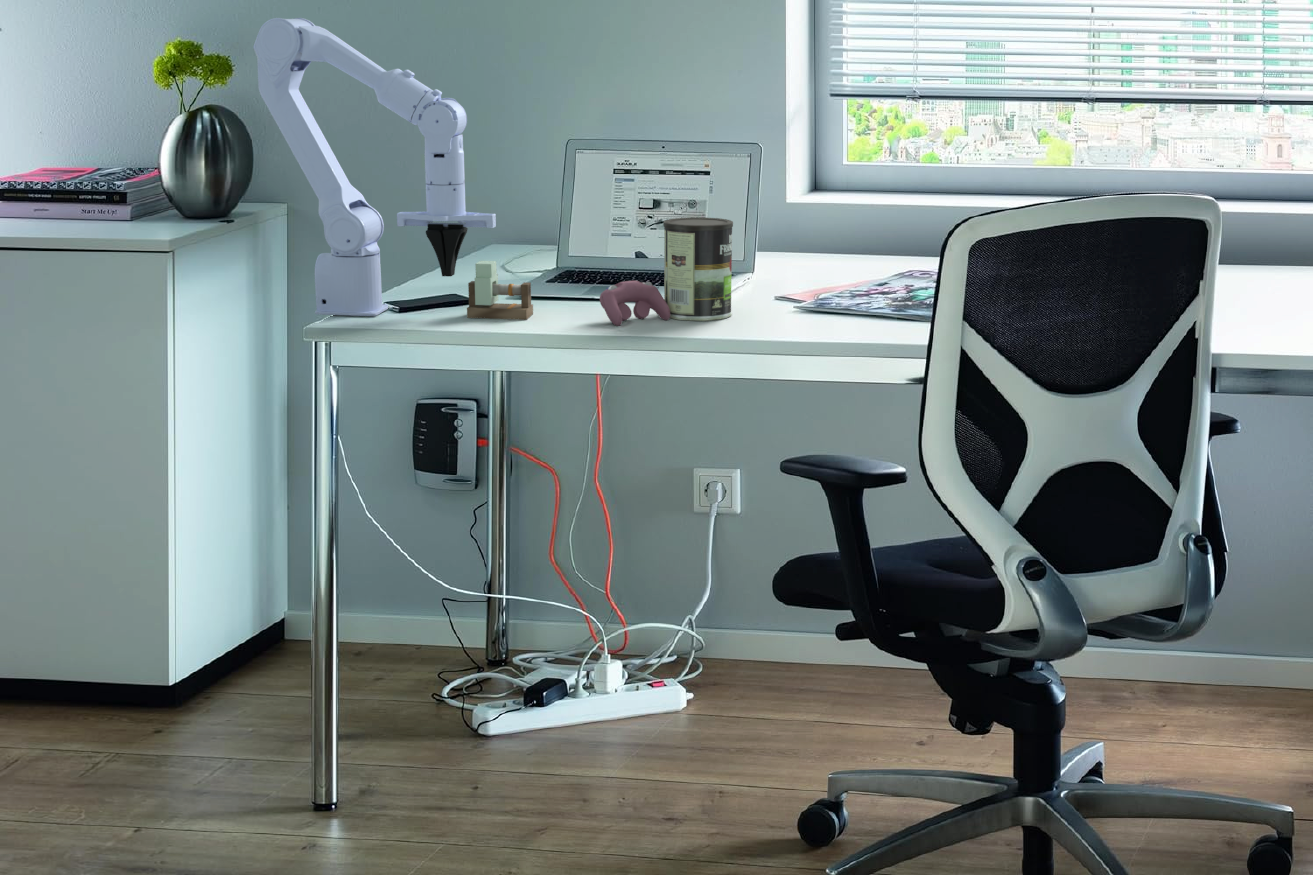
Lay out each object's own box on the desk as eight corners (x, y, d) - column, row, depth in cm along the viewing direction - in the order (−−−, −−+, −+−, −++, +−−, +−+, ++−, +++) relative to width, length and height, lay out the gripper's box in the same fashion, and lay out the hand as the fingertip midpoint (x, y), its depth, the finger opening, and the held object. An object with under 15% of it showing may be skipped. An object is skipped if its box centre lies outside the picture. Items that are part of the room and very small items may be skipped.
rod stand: (467, 317, 230) (466, 284, 229) (474, 312, 234) (473, 279, 233) (526, 319, 229) (525, 286, 228) (533, 314, 233) (532, 281, 232)
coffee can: (736, 310, 237) (737, 217, 233) (725, 322, 227) (727, 226, 223) (670, 307, 239) (670, 215, 235) (656, 320, 229) (657, 224, 225)
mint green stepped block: (475, 304, 230) (474, 264, 228) (482, 299, 234) (481, 260, 232) (491, 305, 229) (490, 264, 228) (498, 300, 233) (497, 260, 232)
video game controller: (659, 327, 232) (648, 282, 233) (674, 317, 228) (663, 272, 229) (603, 333, 227) (591, 288, 228) (617, 324, 223) (606, 278, 224)
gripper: (389, 185, 225) (393, 278, 228) (486, 187, 223) (489, 280, 226) (403, 180, 232) (407, 271, 235) (498, 182, 230) (500, 273, 233)
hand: (448, 275), depth 231 cm, fingers closed
